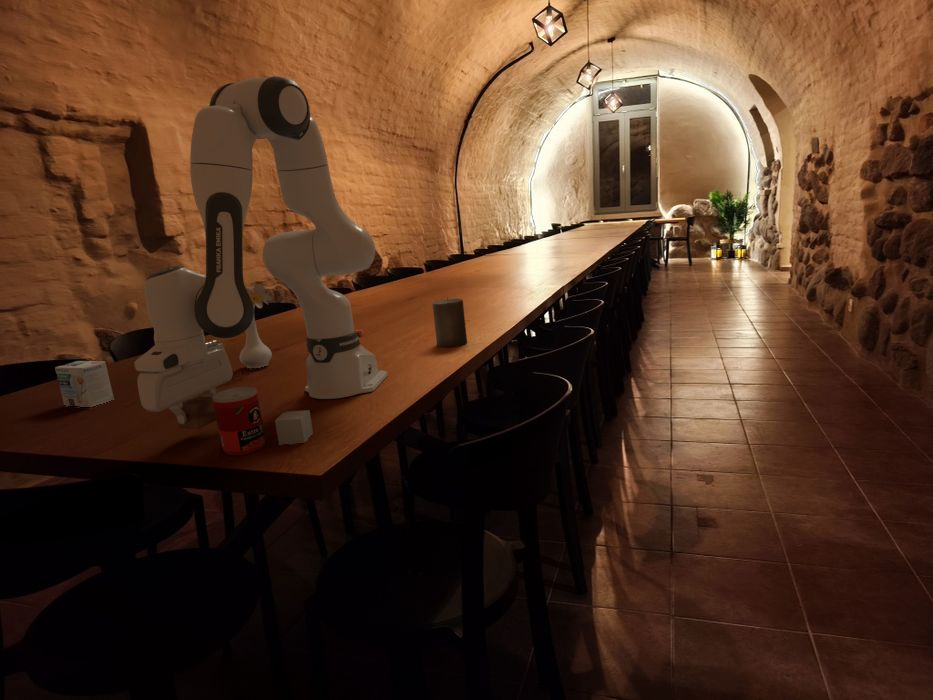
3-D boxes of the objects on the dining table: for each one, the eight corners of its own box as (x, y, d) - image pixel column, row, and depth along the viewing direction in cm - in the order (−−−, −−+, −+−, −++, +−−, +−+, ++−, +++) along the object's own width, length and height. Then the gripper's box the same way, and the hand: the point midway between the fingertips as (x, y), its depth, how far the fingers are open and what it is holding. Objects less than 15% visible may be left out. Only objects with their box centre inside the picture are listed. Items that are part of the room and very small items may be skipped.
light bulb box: (63, 407, 151) (53, 367, 149) (88, 398, 157) (78, 360, 155) (91, 408, 147) (81, 367, 145) (115, 400, 153) (106, 360, 151)
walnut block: (198, 418, 121) (193, 396, 120) (217, 419, 120) (212, 397, 118) (179, 427, 117) (174, 404, 116) (198, 429, 115) (193, 405, 114)
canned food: (247, 457, 105) (236, 400, 103) (213, 454, 108) (202, 398, 106) (275, 441, 112) (265, 387, 110) (242, 438, 115) (232, 385, 113)
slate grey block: (288, 435, 115) (284, 411, 114) (313, 434, 115) (309, 410, 113) (279, 445, 110) (274, 420, 109) (304, 443, 110) (300, 418, 109)
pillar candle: (472, 343, 182) (468, 295, 179) (445, 348, 177) (440, 300, 174) (457, 339, 190) (453, 293, 187) (431, 344, 185) (426, 298, 182)
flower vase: (242, 362, 185) (227, 283, 179) (293, 360, 180) (280, 280, 174) (215, 373, 173) (198, 289, 167) (269, 372, 168) (254, 286, 162)
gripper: (209, 337, 125) (222, 398, 128) (125, 365, 106) (143, 435, 110) (232, 337, 122) (245, 399, 126) (151, 366, 104) (168, 437, 108)
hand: (197, 416), depth 118 cm, fingers closed on walnut block, 5 cm apart
